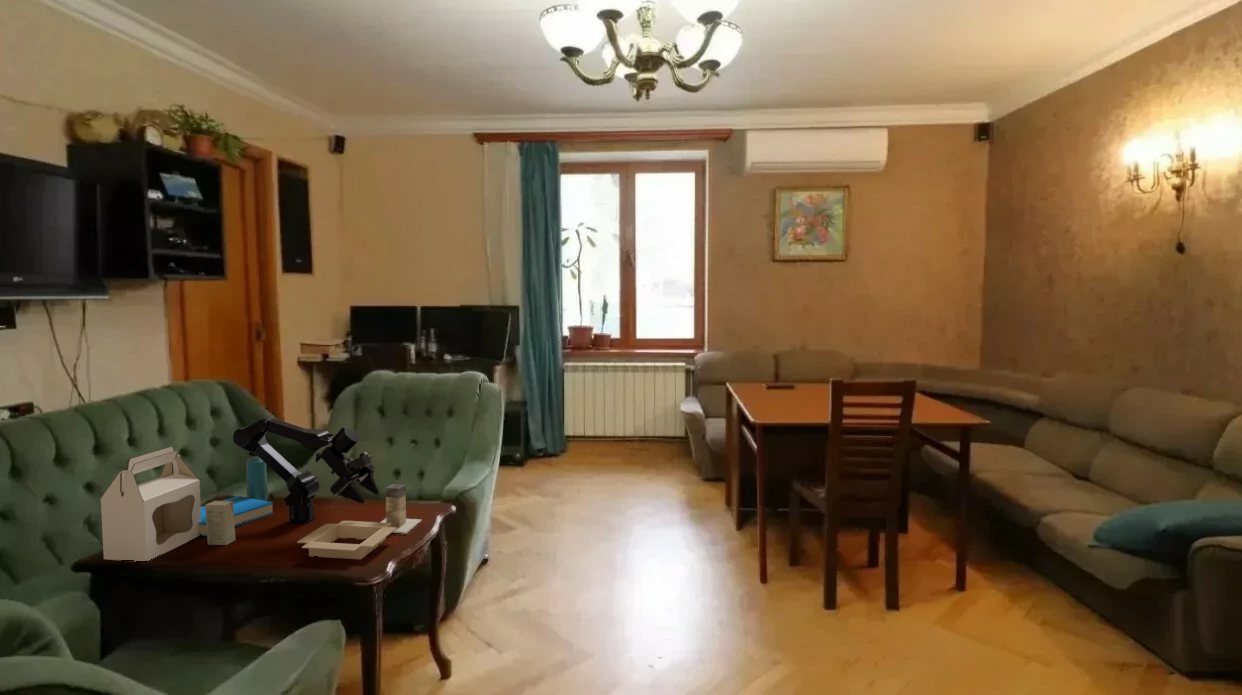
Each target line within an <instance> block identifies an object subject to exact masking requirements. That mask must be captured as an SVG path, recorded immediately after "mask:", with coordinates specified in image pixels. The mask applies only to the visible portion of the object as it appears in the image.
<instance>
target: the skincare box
mask: <svg viewBox="0 0 1242 695" xmlns="http://www.w3.org/2000/svg"><path fill="white" fill-rule="evenodd" d="M204 506H205V510H206V525H207V536H206V537H207V545H209V546H212V545H214V546H216V545H217V546H227V545H229V544H231V543H233V542H235V541H236V528H235V527H236V526H235V525H234V509H233V501H223V500H213V501H210V502H208V503H206V504H204Z"/></svg>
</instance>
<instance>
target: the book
mask: <svg viewBox="0 0 1242 695" xmlns="http://www.w3.org/2000/svg"><path fill="white" fill-rule="evenodd" d="M222 501H233V509H234V525H235V527H237V526H240V525H241V526H242V525H244V524H247V523H250V522H253V521H256V520H258V519H262V518H264V517H265V518H266V517H269V516H271V515H273V514H274V512H273V511H274V510H273V505H274V502H273V501H267V500H266V501H263V500H257V499H251V498H247V496H246V497H245V496H241V495H240V496H239V495H238V496H237V495H236V496H233V497H231V498H227V499H224V500H222ZM270 513H271V514H270ZM267 514H268V515H267ZM264 515H265V516H264ZM261 516H262V517H261ZM251 519H252V520H251ZM249 520H250V521H249ZM245 521H246V522H245ZM190 522H191V527H192V521H190ZM242 522H244V523H242ZM190 529H191V528H190ZM199 535H201V536H203V537H207V525H206V510H205V505H204V506H202V505H201V522H199Z"/></svg>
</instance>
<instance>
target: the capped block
mask: <svg viewBox="0 0 1242 695" xmlns="http://www.w3.org/2000/svg"><path fill="white" fill-rule="evenodd" d="M406 488H407V487H406V484H399V483H396V484H395V483H391V484H390V485H388V486H386V487H385V518H386V523H391V524H390V525H389V526H388V527H401V526H402V525H404V524H405V523H406V519H407V503H406V501H407V500H406V498H407V497H406V496H407V495H406V494H407V493H406V492H407V490H406Z"/></svg>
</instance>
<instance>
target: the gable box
mask: <svg viewBox="0 0 1242 695" xmlns="http://www.w3.org/2000/svg"><path fill="white" fill-rule="evenodd" d="M177 452H178V450H174V448H173V447H172V446H168V447H165V448H162V449H158V450H154V451H152V452H148V453H145V454H141V455H139V456H134V457H131V458H129V459H128V460H127V463H126V470H125V469H123V470H121V471H120V472H118V475H116V477H115V478H114V480H113V481H112V483H111V484H110V485H109V487H108V488H107V490H106V491H105V492H104V494H103V495H102V496H101V497H100V511H101V528H102V529H101V530H102V531H101V532H102V547H103V548H102V550H103V552H102V553H103V560H107V561H108V560H110V561H121V560H134V561H133V562H136V561H148V562H150V561H152V560H154V559H156V558H158V557H160V556H161V554H162V555H164V554H166V553H168V552H170V551H173V550H174V549H176V548H178V547H181V546H182V545H184V544H186V543H188V542H190V540H191V541H193V540H195V539H196V537H197V538H198V536H199V537H200V535H199V522H201V507H202V505H201V504H202V503H201V483H200V481H201V480H200V479H199V477H198V476H197V475H196V474H195V473H194V472H193V471H192V469H191V468H190V467H189V466H188V464H187V463H186V462H185V461H184V460H183V458H181V457H180V456H181V455H180V454H177ZM163 465H165V466H164V467H163V471H162V473H161V476H160V477H157V478H154V479H152V480H148V481H146V482H143V483H140V484H138V482H137V480H136V478H135V475H136V474H139V473H142V472H144V471H148V470H152V469H153V468H158V467H161V466H163ZM190 521H192V527H191V522H190ZM190 528H191V529H190ZM194 538H195V539H194ZM192 539H193V540H192ZM159 555H160V556H159ZM157 556H158V557H157ZM155 557H156V558H155ZM153 558H154V559H153ZM151 559H152V560H151ZM149 560H150V561H149Z"/></svg>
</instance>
